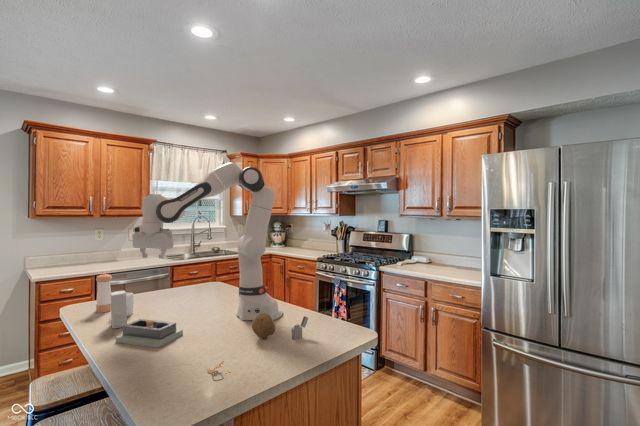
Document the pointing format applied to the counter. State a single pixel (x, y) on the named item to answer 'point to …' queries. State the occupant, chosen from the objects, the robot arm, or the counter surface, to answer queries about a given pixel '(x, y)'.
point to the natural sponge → (263, 326)
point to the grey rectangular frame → (149, 329)
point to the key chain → (216, 372)
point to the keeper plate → (148, 341)
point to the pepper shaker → (103, 293)
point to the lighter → (299, 329)
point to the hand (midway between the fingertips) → (153, 258)
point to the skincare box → (118, 309)
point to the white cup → (129, 303)
